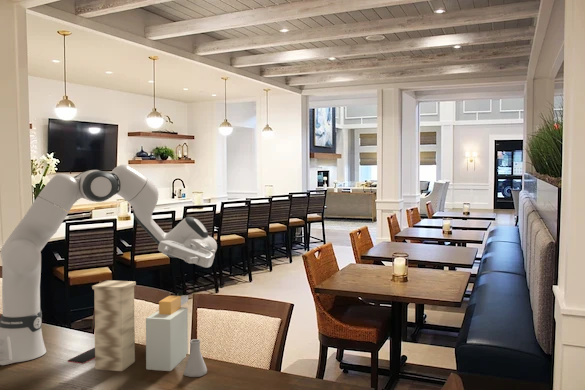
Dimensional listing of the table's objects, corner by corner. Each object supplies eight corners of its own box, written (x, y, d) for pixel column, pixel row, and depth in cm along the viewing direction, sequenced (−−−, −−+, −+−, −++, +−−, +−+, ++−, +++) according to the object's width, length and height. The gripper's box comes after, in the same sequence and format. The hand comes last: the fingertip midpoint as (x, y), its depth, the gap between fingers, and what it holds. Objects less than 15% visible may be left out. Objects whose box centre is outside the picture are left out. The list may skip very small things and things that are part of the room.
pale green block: (146, 369, 156) (145, 318, 156) (165, 353, 170) (164, 306, 169) (170, 371, 155) (170, 319, 154) (187, 355, 169) (187, 307, 168)
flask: (201, 378, 149) (201, 345, 149) (179, 376, 151) (179, 343, 150) (211, 369, 156) (211, 337, 156) (189, 367, 158) (189, 336, 157)
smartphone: (65, 360, 163) (95, 346, 176) (65, 362, 163) (95, 348, 176) (83, 363, 161) (112, 348, 174) (83, 365, 161) (112, 350, 174)
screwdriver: (171, 314, 160) (170, 302, 160) (159, 313, 160) (159, 301, 160) (190, 301, 176) (190, 289, 176) (180, 300, 177) (180, 289, 177)
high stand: (93, 369, 156) (92, 285, 155) (108, 359, 164) (107, 280, 163) (123, 371, 154) (122, 287, 153) (136, 361, 163) (135, 281, 162)
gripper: (170, 234, 191) (152, 238, 178) (219, 251, 187) (204, 256, 173) (166, 250, 192) (147, 255, 178) (214, 267, 187) (199, 274, 174)
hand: (176, 256), depth 176 cm, fingers open, 8 cm apart
